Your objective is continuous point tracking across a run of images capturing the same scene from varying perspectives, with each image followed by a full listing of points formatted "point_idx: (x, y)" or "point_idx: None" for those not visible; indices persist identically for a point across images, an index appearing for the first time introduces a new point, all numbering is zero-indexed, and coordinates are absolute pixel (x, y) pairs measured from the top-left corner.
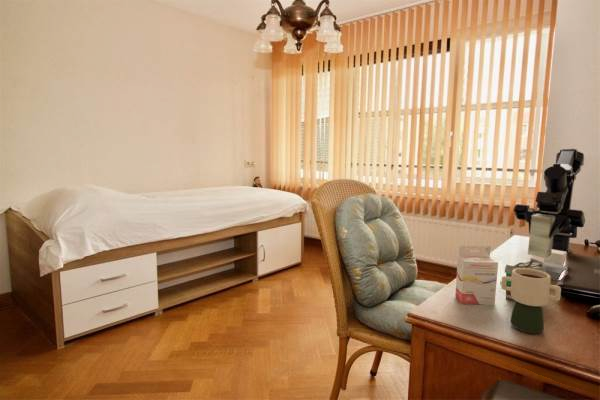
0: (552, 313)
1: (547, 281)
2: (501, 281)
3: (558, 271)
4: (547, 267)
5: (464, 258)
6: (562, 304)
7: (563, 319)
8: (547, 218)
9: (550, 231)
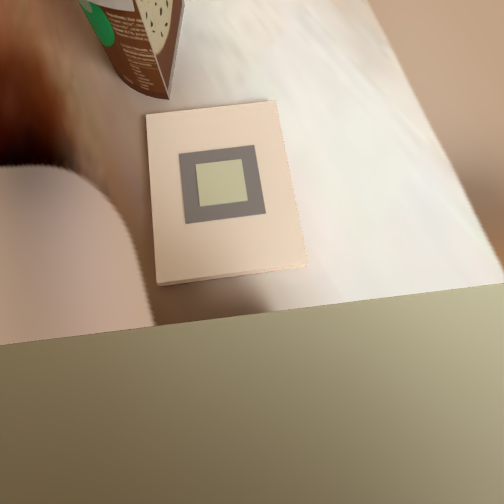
0: (52, 17)
1: None
2: (270, 101)
3: None
4: None
5: None
6: (47, 97)
7: (19, 5)
8: (65, 348)
9: None
